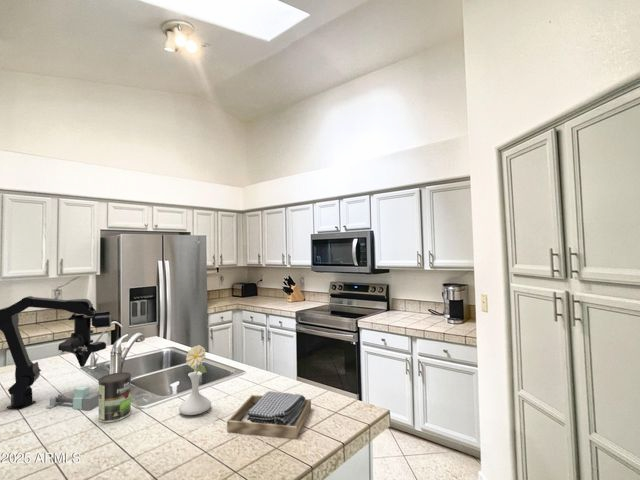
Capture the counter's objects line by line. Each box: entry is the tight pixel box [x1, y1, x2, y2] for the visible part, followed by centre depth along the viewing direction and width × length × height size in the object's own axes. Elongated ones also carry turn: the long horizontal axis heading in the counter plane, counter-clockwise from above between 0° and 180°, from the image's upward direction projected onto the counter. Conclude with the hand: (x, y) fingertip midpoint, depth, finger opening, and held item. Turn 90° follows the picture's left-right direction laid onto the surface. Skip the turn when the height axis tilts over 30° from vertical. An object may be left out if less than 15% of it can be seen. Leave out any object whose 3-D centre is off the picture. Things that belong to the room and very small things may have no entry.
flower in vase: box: [178, 344, 212, 416], centre depth 127 cm, size 13×11×25 cm
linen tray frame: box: [226, 394, 312, 440], centre depth 119 cm, size 24×21×4 cm
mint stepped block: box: [72, 386, 91, 411], centre depth 132 cm, size 4×4×7 cm
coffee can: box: [97, 371, 132, 424], centre depth 124 cm, size 10×10×14 cm
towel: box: [246, 390, 306, 426], centre depth 119 cm, size 15×18×8 cm
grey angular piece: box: [45, 393, 99, 411], centre depth 132 cm, size 18×7×4 cm, turn 78°
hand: (82, 366), depth 142 cm, fingers closed
